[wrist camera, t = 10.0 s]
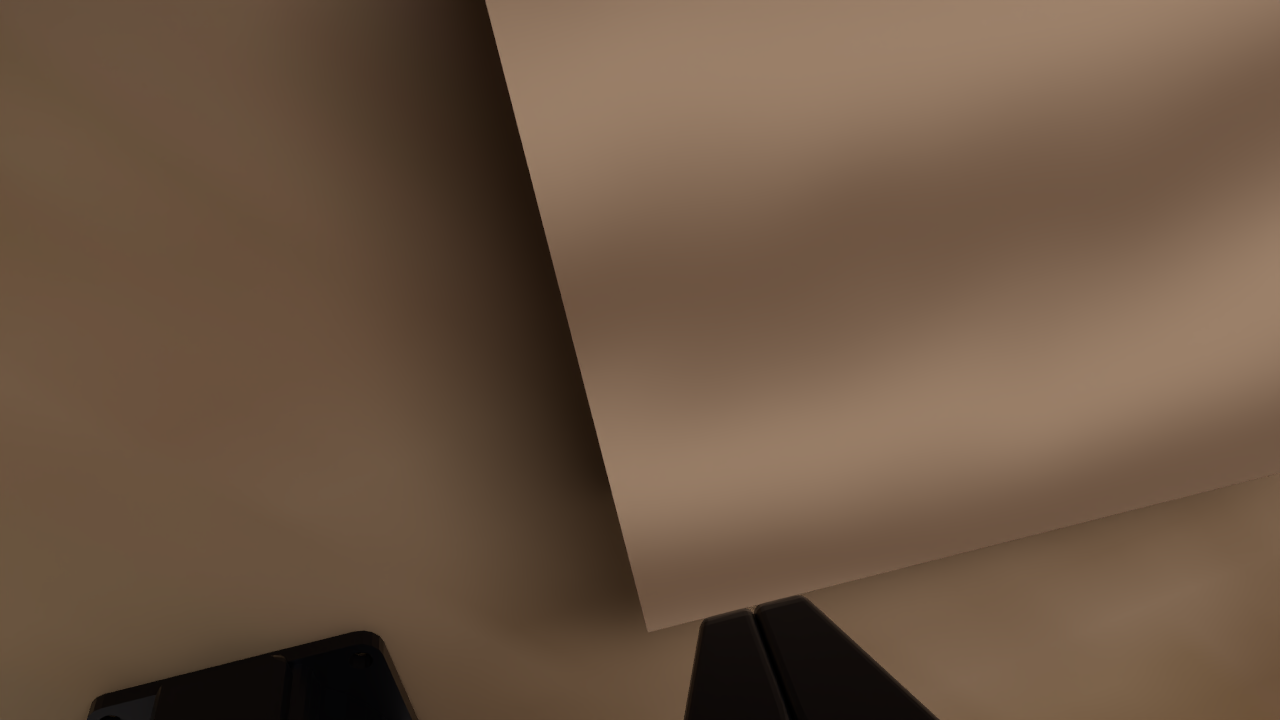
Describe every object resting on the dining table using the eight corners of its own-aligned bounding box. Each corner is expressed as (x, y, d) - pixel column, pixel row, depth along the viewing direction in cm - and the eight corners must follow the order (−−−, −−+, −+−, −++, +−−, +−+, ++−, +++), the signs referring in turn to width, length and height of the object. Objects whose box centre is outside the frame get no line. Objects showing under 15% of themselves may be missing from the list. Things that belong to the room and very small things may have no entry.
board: (1334, 318, 26) (1469, 425, 23) (617, 496, 25) (648, 632, 22) (1465, -449, 18) (1702, -459, 15) (435, -215, 18) (441, -171, 14)
